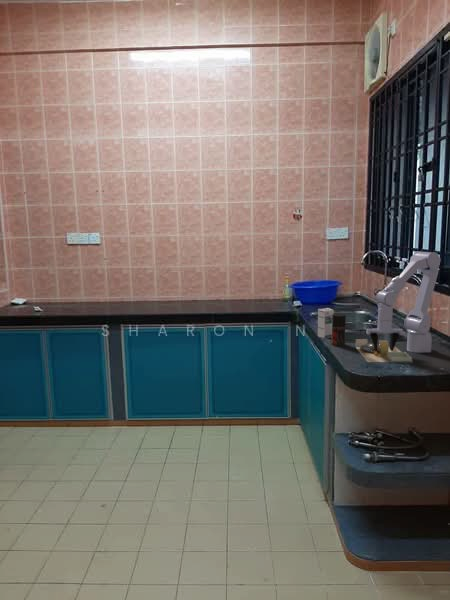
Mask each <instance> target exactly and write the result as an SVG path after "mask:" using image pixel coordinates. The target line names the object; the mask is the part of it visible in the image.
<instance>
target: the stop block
mask: <svg viewBox="0 0 450 600" xmlns="http://www.w3.org/2000/svg"><path fill="white" fill-rule="evenodd" d="M378 342H379V354H380V355H381V356H386V352H388V347H390V342H389V341H388V340H386V339H384V340H383V339H382V340H381V339H378Z"/></svg>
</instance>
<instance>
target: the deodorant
mask: <svg viewBox="0 0 450 600" xmlns="http://www.w3.org/2000/svg"><path fill="white" fill-rule="evenodd" d="M346 317H347V316H346V314H344V313H334V314H333V315H332V338H331V346H334V347H345V346H346V344H345V343H346V319H347V318H346Z"/></svg>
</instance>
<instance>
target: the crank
mask: <svg viewBox="0 0 450 600" xmlns="http://www.w3.org/2000/svg"><path fill="white" fill-rule="evenodd" d="M354 346H355V347H360V350H362V351H365V352H370V353H373V354H374V355H377V353H379V344H378V343H377V351H375V350H374V345H373V342H372V343H371V342H369V341H368V339H367V338H363V339H362V338H355V344H354Z"/></svg>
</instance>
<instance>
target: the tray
mask: <svg viewBox="0 0 450 600" xmlns="http://www.w3.org/2000/svg"><path fill="white" fill-rule="evenodd" d="M386 356H387V357H388V358H389V359H390V360H391V361H392V362H391V363H413V357H411V355H410V354H408V353H407V352H406V351H401V352H386Z"/></svg>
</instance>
